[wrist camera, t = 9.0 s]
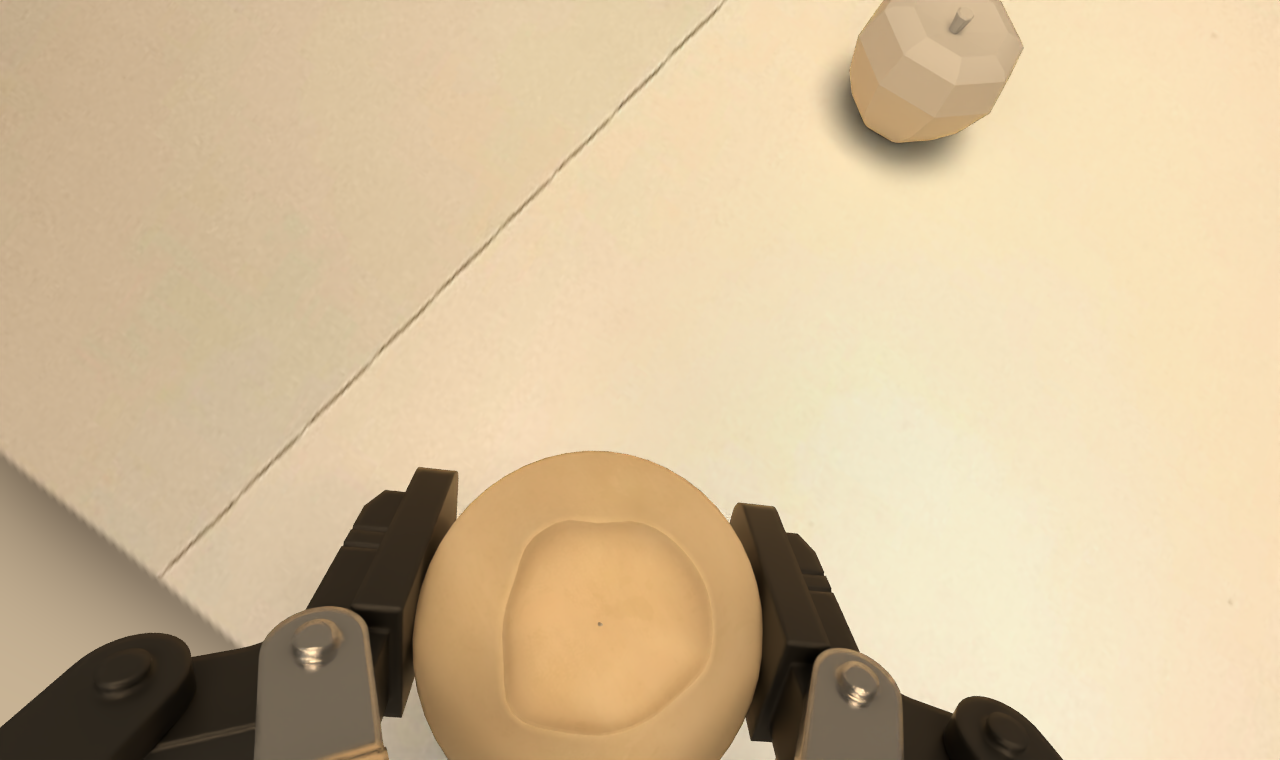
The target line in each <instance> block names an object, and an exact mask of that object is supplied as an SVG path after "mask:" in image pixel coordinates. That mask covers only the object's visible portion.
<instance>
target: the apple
mask: <svg viewBox="0 0 1280 760" xmlns="http://www.w3.org/2000/svg"><path fill="white" fill-rule="evenodd" d="M1022 50H1023V45H1022V42H1021V40H1020V38H1019V36H1018V34H1017V32H1016V30H1015V28H1014V26H1013V24H1012V22H1011V20H1010V18H1009V16H1008V14H1007V12H1006V10H1005V8H1004V6H1003V4H1002V2H1001V1H999V0H884V1H883V2H882V3H881V5H880V6H879V8H878V9H877V10H876V12H875V13H874V15H873V16H872V17H871V19H870V20H869V22H868V23H867V24H866V26H865V27H864V28H863V30H862V31H861V33H860V34H859V36H858V39H857V43H856V47H855V51H854V55H853V58H852V62H851V66H850V70H849V72H850V81H851V91H852V95H853V98H854V100H855V103H856V105H857V107H858V110H859V112H860V115H861V117H862V119H863V122H864V124H865V125H866V126H867V127H868V128H869V129H871V130H873V131H875V132H876V133H878V134H880V135H881V136H883V137H885V138H886V139H888V140H890V141H891V142H896V143H901V142H915V141H929V140H934V139H938V138H942V137H945V136H949V135H953V134H956V133H958V132H960V131H962V130H963V129H965V128H966V127H968V126H970V125H971V124H973V123H975V122H976V121H978V120H980V119H981V118H983V117H984V116H986V115H988V114H989V113H990V112H991V110H992V108H993V106H994V104H995V103H996V101H997V99H998V97H999V95H1000V93H1001V92H1002V90H1003V88H1004V86H1005V84H1006V82H1007V81H1008V79H1009V77H1010V75H1011V73H1012V71H1013V69H1014V67H1015V65H1016V62H1017V60H1018V58H1019V56H1020V54H1021V52H1022Z"/></svg>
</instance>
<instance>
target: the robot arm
mask: <svg viewBox="0 0 1280 760" xmlns="http://www.w3.org/2000/svg"><path fill="white" fill-rule="evenodd" d="M457 496H458V472H457V471H450V470H441V469H432V468H423V467H418V468H417V470H416V471H415V474H414V476H413V478H412V480H411V482H410V484H409V486H408V488H407V490H406V492H399V491H389V490H385V491H383V492H382V493H381V494H379V495H378V496H377V497H375V498H374V499H373V500H371V501H370V502H369V503H367V504H366V505H365V506H364V507H363V509H362V511H361V513H360V514H359V516H358V518H357V520H356V521H355V523H354V525H353V529H352V530H350V532H349V534H348V536H347V537H346V539H345V541H344V545H343V546H341V548H340V550H339V552H338V553H337V555H336V557H335V559H334V560H333V562H332V564H331V566H330V567H329V569H328V571H327V573H326V575H325V576H324V578H323V580H322V582H321V583H320V585H319V587H318V589H317V591H316V592H315V594H314V596H313V598H312V599H311V601H310V603H309V605H308V606H307V608H306V610H304V611H302V612H299V613H296V614H294V615H292V616H290V617H288V618H287V619H285V620H284V621H282V622H281V623H279V624H278V625H277V626H276V627H275V628H274V629H273V630H272V631H271V632H270V633H269V634H268V635H267V637H266V638H265V640H264V641H263V642H261V643H258V644H255V645H252V646H249V647H245V648H240V649H235V650H229V651H224V652H218V653H212V654H207V655H201V656H196V657H191V653H190V650H189V648H188V646H187V645H186V644H185V643H184V642H183V641H182V640H181V639H179V638H177V637H175V636H172V635H169V634H163V633H145V634H138V635H132V636H128V637H124V638H121V639H118V640H115V641H113V642H110V643H108V644H105V645H103V646H102V647H99V648H97V649H95V650H94V651H92V652H91V653H89V654H87V655H86V656H84V657H83V658H81V659H80V660H79V661H78V662H77V663H75V664H74V665H73V666H72V667H70V668H69V669H68V670H67V671H66V672H65V673H63V674H62V675H61V676H60V677H59V678H57V679H56V680H55V681H54V682H53V683H52V684H50V685H49V686H48V687H47V688H46V689H45V690H44V691H42V692H41V693H40V694H39V695H38V696H37V697H35V698H34V699H33V700H32V701H31V702H30V703H28V704H27V705H26V706H25V707H24V708H23V709H21V710H20V711H19V712H18V713H17V714H16V715H14V716H13V717H12V718H11V719H10V720H9V721H8V722H6V723H5V724H4V725H3V726H2V727H1V728H0V760H389V758H388V753H387V749H386V747H384V745H383V740H382V732H381V721H382V718H383V716H385V717H401V718H402V715H403V712H404V708H405V705H406V702H407V699H408V696H409V693H410V690H411V686H412V683H413V680H414V677H415V673H414V667H413V641H412V639H413V629H414V619H415V614H416V609H417V603H418V598H419V594H420V589H421V586H422V583H423V581H424V578H425V575H426V572H427V570H428V567H429V564H430V562H431V560H432V558H433V556H434V554H435V552H436V550H437V548H438V546H439V544H440V543H441V541H442V540H443V538H444V537H445V535H446V534H447V532H448V531H449V529H450V528H451V526H452V525H453V523H454V522H455V521H456V515H457ZM730 525H731V526H732V528H733V530H734V531H735V533H736V535H737V536H738V538H739V540H740V541H741V543H742V545H743V548H744V550H745V552H746V554H747V556H748V559H749V561H750V563H751V566H752V569H753V573H754V576H755V579H756V582H757V586H758V591H759V596H760V601H761V606H762V622H763V638H762V660H761V666H760V672H759V678H758V682H757V685H756V689H755V692H754V696H753V699H752V703H751V705H750V707H749V710H748V712H747V714H746V721H747V725H748V730H749V734H750V739H751V741H763V742H772V743H773V747H774V751H775V755H776V758H775V760H1063V759H1062V758H1061V757H1060V755H1059V754H1058V753H1057V752H1056V751H1055V749H1054V748H1053V747H1052V746H1051V745H1050V743H1049V742H1048V741H1047V740H1046V739H1045V737H1044V736H1043V735H1042V734H1041V733H1040V731H1039V730H1038V729H1037V728H1036V727H1035V726H1034V725H1033V724H1032V723H1031V722H1030V721H1029V720H1028V719H1026V718H1025V717H1024V716H1023V715H1021V714H1020V713H1019V712H1017V711H1016V710H1014V709H1013V708H1011V707H1009V706H1007V705H1006V704H1004V703H1002V702H999V701H997V700H994V699H991V698H987V697H981V696H972V697H967V698H965V699H963V700H962V701H961V702H960V703H959V704H958V706H957V708H956V709H955V711H954V713H950V712H947V711H944V710H942V709H939V708H936V707H933V706H931V705H928V704H925V703H922V702H919V701H917V700H914V699H911V698H909V697H907V696H904V695H903V694H901V693H900V690H899V688H898V686H897V684H896V682H895V681H894V679H893V678H892V677H891V675H890V674H889V673H888V672H887V671H886V670H885V669H884V668H883V667H882V666H881V665H880V664H878V663H877V662H876V661H874V660H873V659H871V658H870V657H868V656H866V655H864V654H862V653H860V652H859V649H858V647H857V645H856V643H855V640H854V638H853V636H852V634H851V631H850V629H849V627H848V625H847V622H846V620H845V618H844V616H843V613H842V611H841V609H840V607H839V604H838V602H837V600H836V598H835V595H834V593H831V587H830V584H829V582H828V580H827V578H826V576H824V571H823V569H822V566H821V564H820V562H819V560H818V557H817V555H816V553H815V551H814V550H813V549H812V548H811V547H810V546H809V545H808V544H807V543H806V542H805V541H804V540H803V539H802V538H801V537H800V536H799V535H798V534H795V533H786V532H785V530H784V527H783V525H782V522H781V520H780V517H779V515H778V512H777V510H776V508H775V507H773V506H765V505H756V504H747V503H737V504H736V506H735V507H734V510H733V513H732V516H731V520H730Z"/></svg>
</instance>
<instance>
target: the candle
mask: <svg viewBox="0 0 1280 760" xmlns="http://www.w3.org/2000/svg"><path fill="white" fill-rule="evenodd" d="M762 638H763V622H762V606H761V601H760V596H759V591H758V586H757V582H756V579H755V576H754V573H753V569H752V566H751V563H750V561H749V559H748V556H747V554H746V552H745V550H744V548H743V545H742V543H741V541H740V540H739V538H738V536H737V535H736V533H735V531H734V530H733V528H732V526H731V525H730V523H729V522H728V521H727V520H726V518H725V517H724V516H723V514H722V513H721V512H720V511H719V509H718V508H717V507H716V506H715V505H714V504H713V503H712V502H711V501H710V500H709V499H708V498H707V497H706V496H705V495H704V494H703V493H702V492H701V491H700V490H698V489H697V488H696V487H695V486H693V485H692V484H691V483H689V482H688V481H687V480H686V479H684V478H682V477H681V476H679V475H677V474H676V473H674V472H672V471H671V470H669V469H667V468H665V467H663V466H660V465H658V464H656V463H653V462H651V461H649V460H645V459H642V458H638V457H635V456H631V455H628V454H621V453H615V452H608V451H582V452H573V453H565V454H561V455H556V456H552V457H548V458H544V459H542V460H539V461H536V462H534V463H531V464H528V465H526V466H524V467H522V468H520V469H518V470H516V471H514V472H512V473H510V474H508V475H507V476H505V477H503V478H502V479H500V480H499V481H498V482H496V483H495V484H493V485H492V486H490V487H489V488H488V489H486V490H485V491H484V492H483V493H482V494H481V495H480V496H479V497H477V498H476V499H475V500H474V501H473V502H472V503H471V504H470V505H469V506H468V507H467V508H466V509H465V510H464V512H463V513H462V514H461V515H460V516H459V517H458V519H457V520H456V521H455V522H454V523H453V525H452V526H451V528H450V529H449V531H448V532H447V534H446V535H445V537H444V538H443V540H442V541H441V543H440V544H439V546H438V548H437V550H436V552H435V554H434V556H433V558H432V560H431V562H430V564H429V567H428V570H427V572H426V575H425V578H424V581H423V583H422V586H421V589H420V594H419V598H418V603H417V609H416V614H415V619H414V629H413V639H412V641H413V667H414V673H415V680H416V686H417V692H418V695H419V698H420V702H421V705H422V708H423V712H424V715H425V717H426V720H427V722H428V724H429V726H430V728H431V731H432V733H433V735H434V737H435V739H436V741H437V743H438V744H439V746H440V747H441V749H442V750H443V752H444V754H445V755H446V757H447V758H448V760H720V759H721V757H722V756H723V755H724V753H725V752H726V751H727V749H728V748H729V747H730V745H731V743H732V742H733V740H734V738H735V736H736V735H737V733H738V731H739V729H740V728H741V726H742V724H743V722H744V719H745V717H746V714H747V712H748V710H749V707H750V705H751V703H752V699H753V696H754V692H755V689H756V685H757V682H758V678H759V672H760V666H761V660H762Z"/></svg>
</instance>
